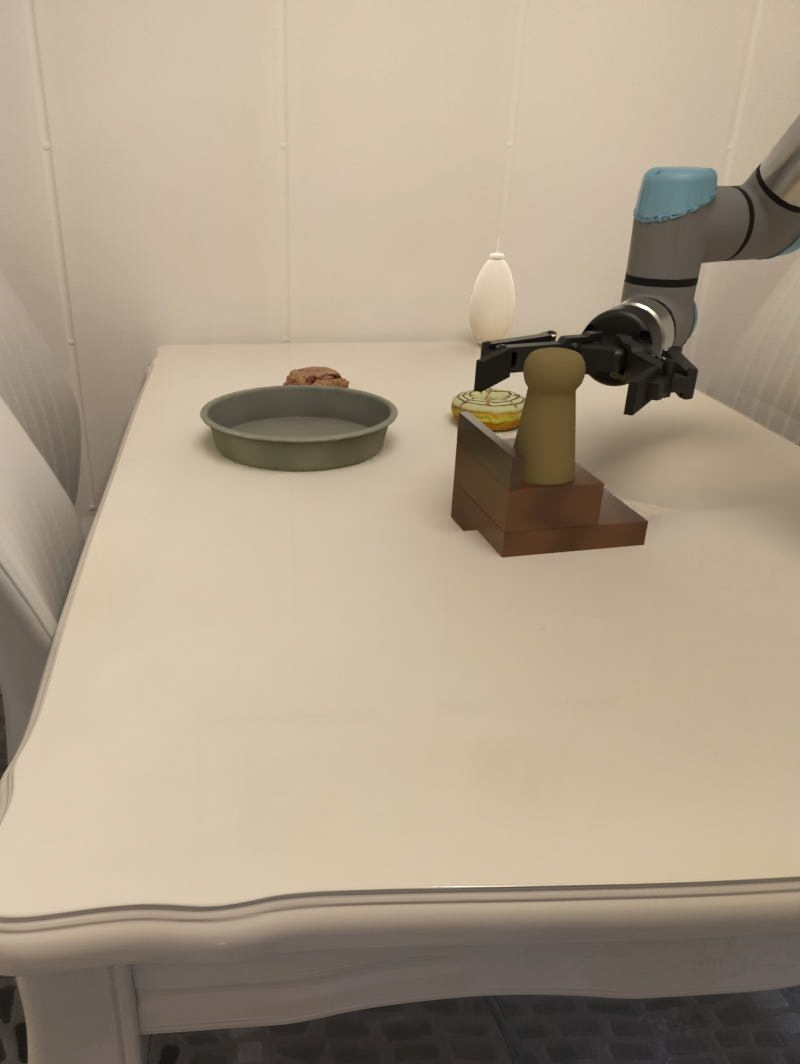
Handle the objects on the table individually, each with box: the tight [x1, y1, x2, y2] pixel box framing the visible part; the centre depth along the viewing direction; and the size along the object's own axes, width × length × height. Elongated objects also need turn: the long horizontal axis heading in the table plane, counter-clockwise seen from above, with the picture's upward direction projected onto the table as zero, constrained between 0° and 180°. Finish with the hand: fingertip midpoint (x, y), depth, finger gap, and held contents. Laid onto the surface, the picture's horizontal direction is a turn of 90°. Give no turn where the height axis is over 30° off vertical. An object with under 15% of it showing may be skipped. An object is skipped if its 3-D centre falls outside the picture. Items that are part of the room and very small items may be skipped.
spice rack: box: [450, 412, 649, 558], centre depth 88 cm, size 14×14×11 cm
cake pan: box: [199, 384, 399, 471], centre depth 115 cm, size 25×25×4 cm
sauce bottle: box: [468, 236, 517, 344], centre depth 161 cm, size 8×8×18 cm
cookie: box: [282, 365, 350, 388], centre depth 138 cm, size 10×11×3 cm
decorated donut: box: [450, 387, 526, 432], centre depth 124 cm, size 10×11×4 cm
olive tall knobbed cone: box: [513, 347, 586, 485], centre depth 81 cm, size 6×6×11 cm
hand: (551, 387), depth 79 cm, fingers open, 13 cm apart
